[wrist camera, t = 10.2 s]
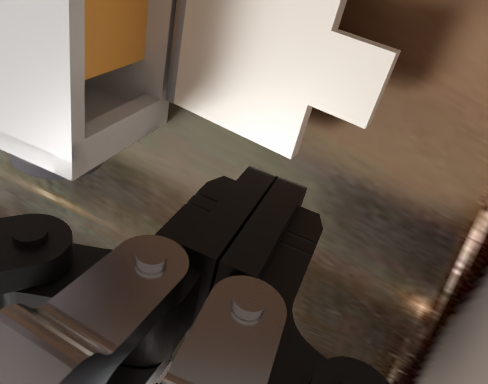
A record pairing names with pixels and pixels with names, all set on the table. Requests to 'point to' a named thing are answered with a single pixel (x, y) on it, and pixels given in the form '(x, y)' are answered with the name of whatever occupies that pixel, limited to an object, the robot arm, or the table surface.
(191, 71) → the side door
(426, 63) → the table surface
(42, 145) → the camera housing
